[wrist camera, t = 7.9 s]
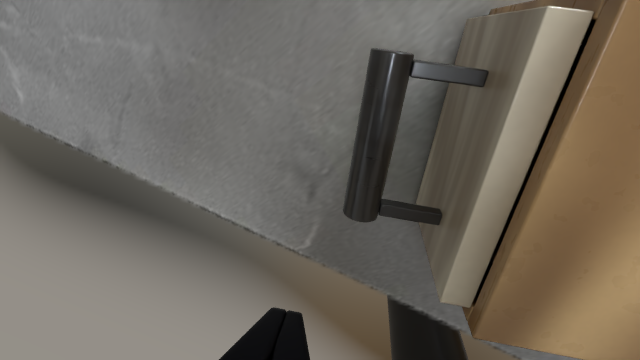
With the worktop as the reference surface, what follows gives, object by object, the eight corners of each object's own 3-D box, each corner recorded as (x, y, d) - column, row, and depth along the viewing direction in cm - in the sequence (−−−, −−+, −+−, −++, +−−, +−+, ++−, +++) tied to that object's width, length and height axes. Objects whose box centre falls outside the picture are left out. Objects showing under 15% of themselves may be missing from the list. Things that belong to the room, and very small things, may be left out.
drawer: (344, 195, 20) (331, 282, 13) (376, 6, 16) (383, -16, 9) (630, 244, 19) (785, 368, 12) (750, 54, 15) (1101, 73, 8)
